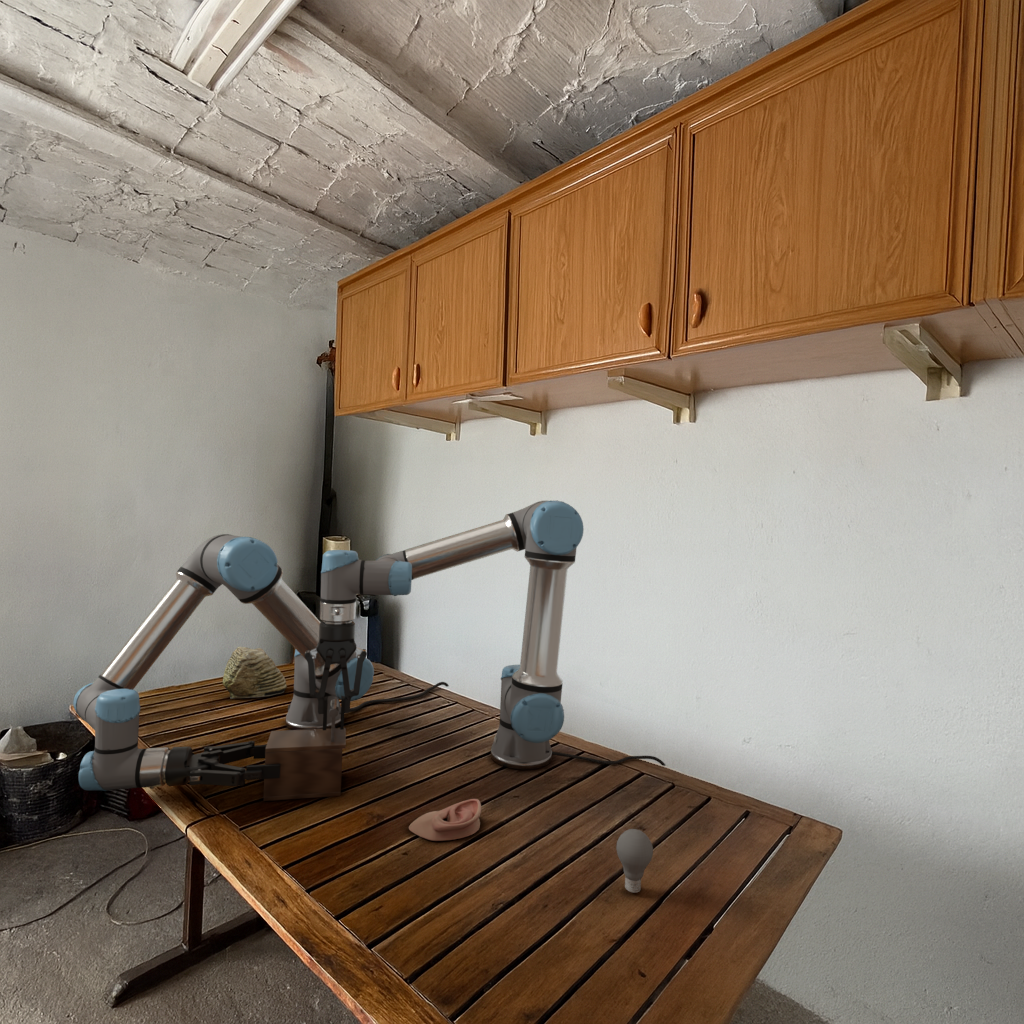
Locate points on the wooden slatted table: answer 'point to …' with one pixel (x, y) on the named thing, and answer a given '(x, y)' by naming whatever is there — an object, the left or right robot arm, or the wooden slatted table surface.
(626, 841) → the light bulb
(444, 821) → the anatomical model
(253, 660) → the fossil
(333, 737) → the lid
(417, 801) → the wooden slatted table surface
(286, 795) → the chest
